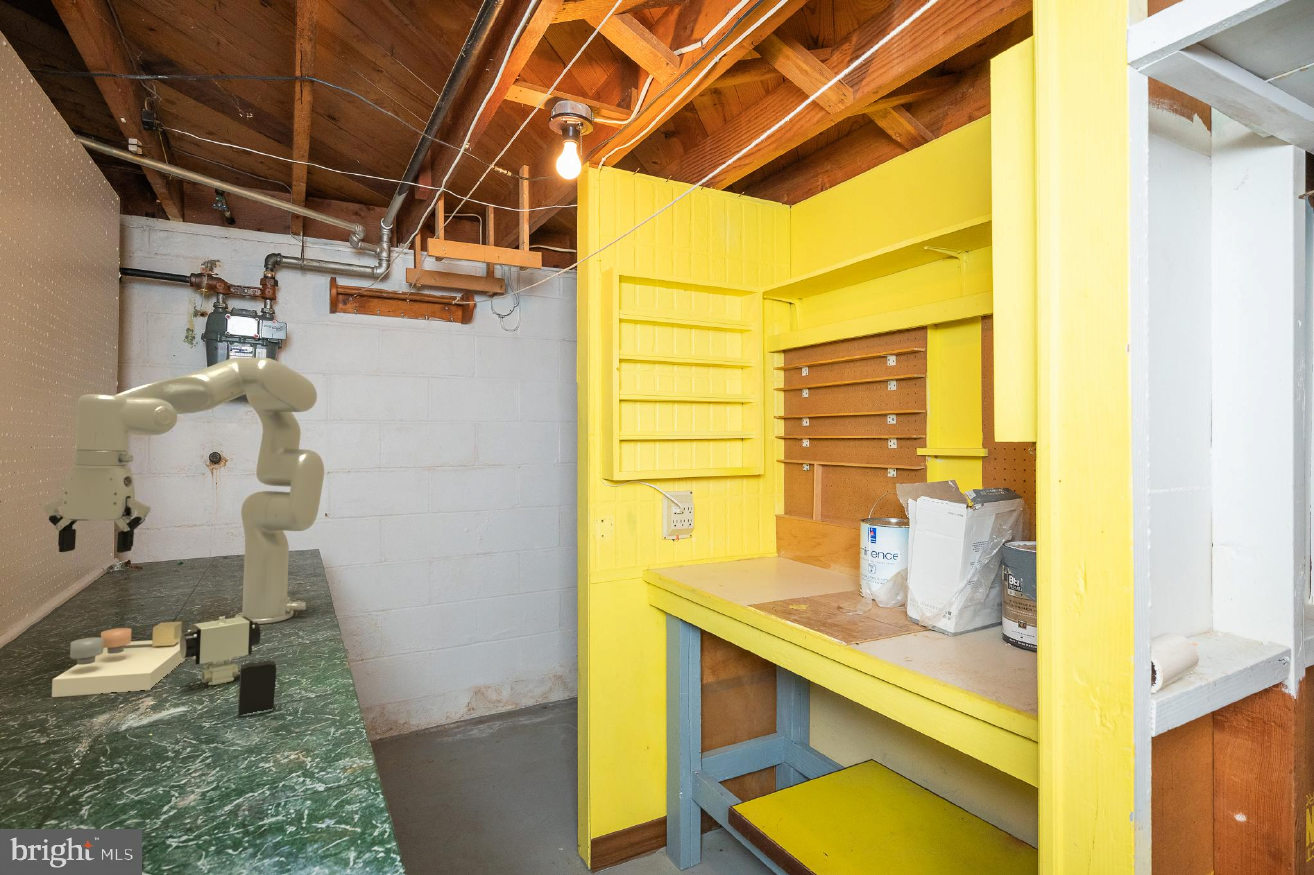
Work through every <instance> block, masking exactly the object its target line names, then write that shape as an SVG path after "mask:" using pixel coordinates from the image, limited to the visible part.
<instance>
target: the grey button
mask: <svg viewBox="0 0 1314 875" xmlns="http://www.w3.org/2000/svg"><path fill="white" fill-rule="evenodd" d="M103 648H104V647H103V638H101V636H100V637H99V636H97V637H96V636H95V637H94V636H93V637H86V638H79V639H75V640H73V641H70V651H69V654H70V655H69V658H71V659H76V660H77V663H76V665H77V664H78V665H84V664H90V663H94V662H95V656H97V655H100V654H102V653H103Z"/></svg>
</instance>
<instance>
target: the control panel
mask: <svg viewBox="0 0 1314 875" xmlns="http://www.w3.org/2000/svg"><path fill="white" fill-rule="evenodd" d="M185 659H186V660H187V659H188V658H185ZM185 659H183V658H182V656H181V653H180V641H178V642H177V643H176V644H175V645H167V646H152V640H151V639H150V640H135V641H132V640H131V643H130V644H127V645H124V651H123V652H120V653H113V654H109V653H107V648H105V647H103V653H102V654H100V655H97V656H95V662H94V663H90V664H84V665H78V664H77V663H76V665H73V666H72V667H71V668H68V669H67V670H66V671H64V672H62V673H61V674H59V675H58V676H56V677H54V678H52V683H51V698H59V697H73V696H74V697H75V696H86V695H100V694H101V693H103V694H112V693H111V692H117V693H127V692H128V691H131V692H141V691H140V690H145V691H151V688H152V687H153V686H154V685H155V684H156V683H157V684H159V683H160V682H161V681H162V680H164V678H163V677H165V676H166V675H167V674H168V675H169V674H170V673H172V672H173V671H174V670H175V669H176V668H177V667H179V666H180V665H181V664H182V663H183V662H185V661H186V660H185ZM180 663H181V664H180ZM179 664H180V665H179ZM178 665H179V666H178ZM176 666H177V667H176ZM174 668H175V669H174ZM172 670H173V671H172ZM171 671H172V672H171ZM168 675H167V676H168ZM167 676H166V677H167ZM166 677H165V678H166ZM161 679H162V680H161ZM160 680H161V681H160ZM159 681H160V682H159ZM158 682H159V683H158ZM157 684H156V685H157ZM156 685H155V686H156ZM155 686H154V687H155ZM154 687H153V688H154ZM153 688H152V689H153Z"/></svg>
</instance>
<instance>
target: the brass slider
mask: <svg viewBox="0 0 1314 875" xmlns="http://www.w3.org/2000/svg"><path fill="white" fill-rule="evenodd" d="M182 624H183V622H182V621H169V622H167V621H166V622H160V623H158V624H157V625H155V626H154V627H152V646H167V645H175V644H176V643H177V642H178V641H180V638H181V635H182V629H183V628H182V627H183V625H182Z"/></svg>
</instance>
